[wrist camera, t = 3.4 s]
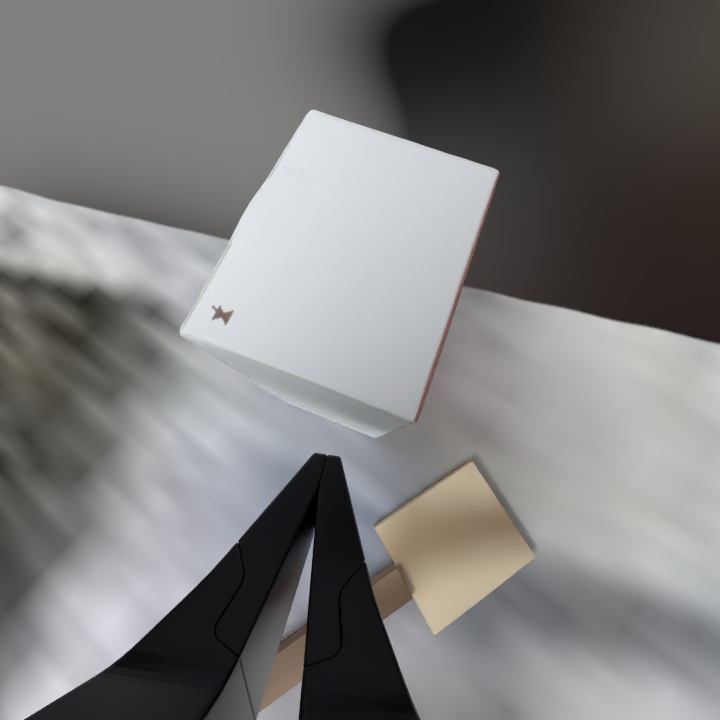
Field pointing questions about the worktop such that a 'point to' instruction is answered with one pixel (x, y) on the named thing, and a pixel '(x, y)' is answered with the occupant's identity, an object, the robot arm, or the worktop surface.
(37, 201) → the worktop surface
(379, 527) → the wooden turner
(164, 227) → the worktop surface
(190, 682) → the robot arm
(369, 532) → the worktop surface
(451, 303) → the small box
